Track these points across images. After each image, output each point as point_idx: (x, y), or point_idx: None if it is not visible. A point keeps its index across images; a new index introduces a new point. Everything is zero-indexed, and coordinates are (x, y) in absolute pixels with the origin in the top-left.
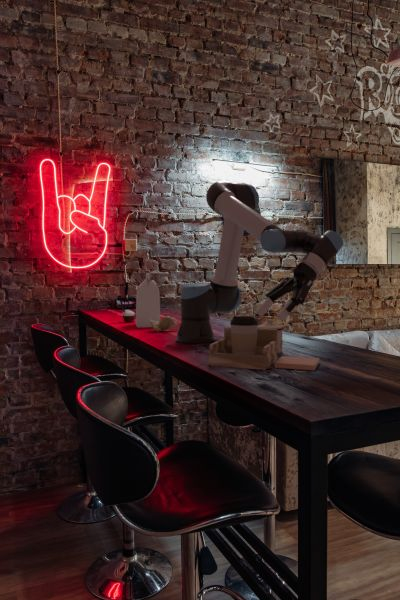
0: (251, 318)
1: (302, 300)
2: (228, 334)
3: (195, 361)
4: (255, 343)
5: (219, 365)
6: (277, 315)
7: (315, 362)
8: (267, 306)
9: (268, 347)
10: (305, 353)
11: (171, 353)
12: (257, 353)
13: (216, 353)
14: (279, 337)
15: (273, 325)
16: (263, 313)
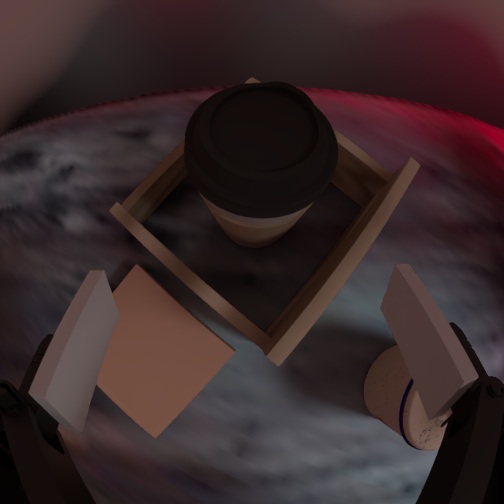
0: (200, 142)
1: (7, 455)
2: (391, 181)
3: None
4: (215, 218)
5: None
6: (94, 271)
7: (99, 384)
8: (418, 357)
9: (133, 234)
10: (323, 474)
11: (422, 110)
12: (305, 286)
13: None
14: (387, 418)
15: None
16: (392, 320)
